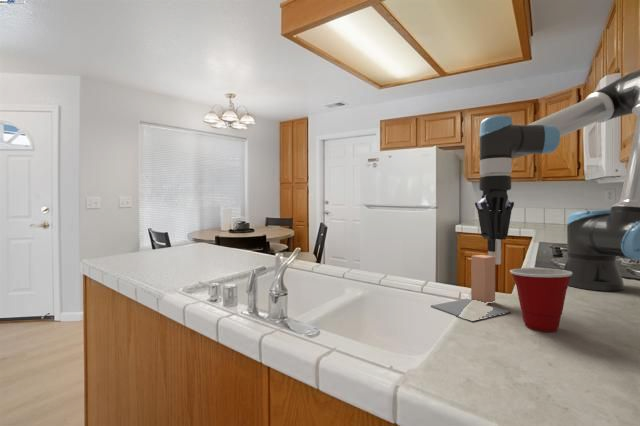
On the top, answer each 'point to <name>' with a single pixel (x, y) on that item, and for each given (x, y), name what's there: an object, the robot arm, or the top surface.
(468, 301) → the slate mat
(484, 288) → the terracotta block
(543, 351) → the top surface
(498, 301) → the top surface
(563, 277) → the plastic cup
